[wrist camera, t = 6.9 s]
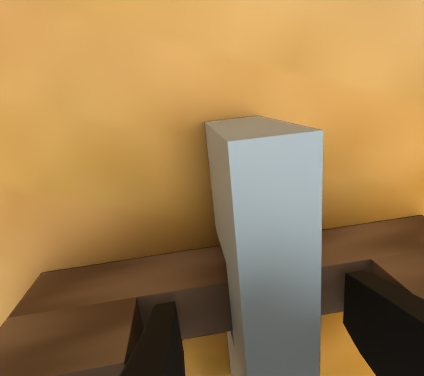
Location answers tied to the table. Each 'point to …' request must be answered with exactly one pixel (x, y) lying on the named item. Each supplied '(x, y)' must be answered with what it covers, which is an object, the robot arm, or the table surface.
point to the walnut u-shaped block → (177, 298)
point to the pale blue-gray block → (269, 241)
